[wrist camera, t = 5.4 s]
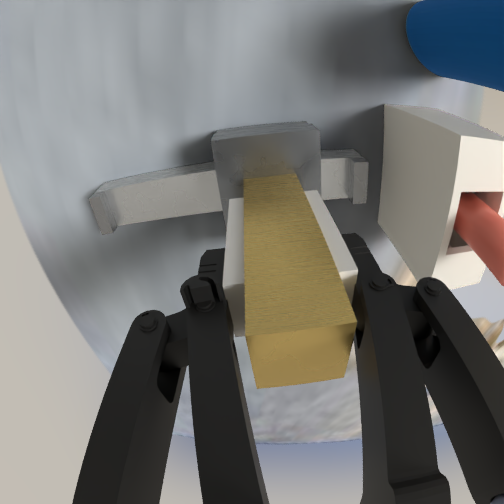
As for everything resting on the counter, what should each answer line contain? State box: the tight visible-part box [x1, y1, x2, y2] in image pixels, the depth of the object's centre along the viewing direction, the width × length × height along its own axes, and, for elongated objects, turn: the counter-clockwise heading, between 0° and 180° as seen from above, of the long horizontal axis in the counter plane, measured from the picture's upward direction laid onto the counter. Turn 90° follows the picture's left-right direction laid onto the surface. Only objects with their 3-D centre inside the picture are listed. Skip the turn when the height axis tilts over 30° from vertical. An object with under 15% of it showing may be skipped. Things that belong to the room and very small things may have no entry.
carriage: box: [210, 121, 357, 389], centre depth 14 cm, size 8×6×15 cm
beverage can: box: [406, 0, 504, 92], centre depth 9 cm, size 6×6×12 cm
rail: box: [89, 149, 369, 235], centre depth 20 cm, size 3×19×3 cm, turn 97°
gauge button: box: [453, 192, 504, 286], centre depth 13 cm, size 3×3×8 cm
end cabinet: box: [377, 104, 504, 290], centre depth 17 cm, size 10×5×9 cm, turn 7°
